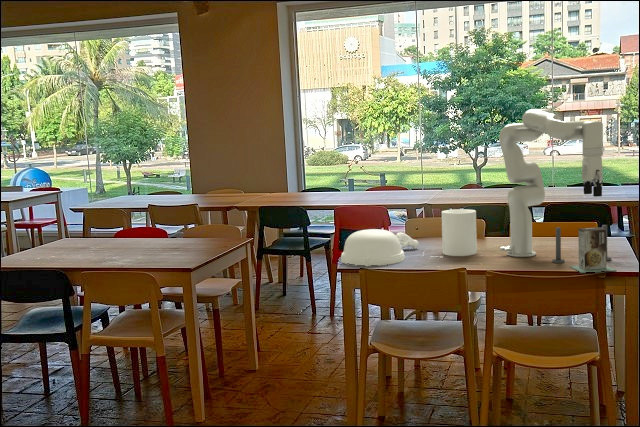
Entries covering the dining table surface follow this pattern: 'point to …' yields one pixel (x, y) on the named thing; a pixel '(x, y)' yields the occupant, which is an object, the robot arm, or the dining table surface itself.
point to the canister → (459, 232)
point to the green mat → (592, 269)
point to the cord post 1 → (558, 247)
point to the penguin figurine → (407, 241)
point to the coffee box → (592, 248)
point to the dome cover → (372, 248)
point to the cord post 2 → (606, 242)
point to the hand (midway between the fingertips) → (592, 195)
